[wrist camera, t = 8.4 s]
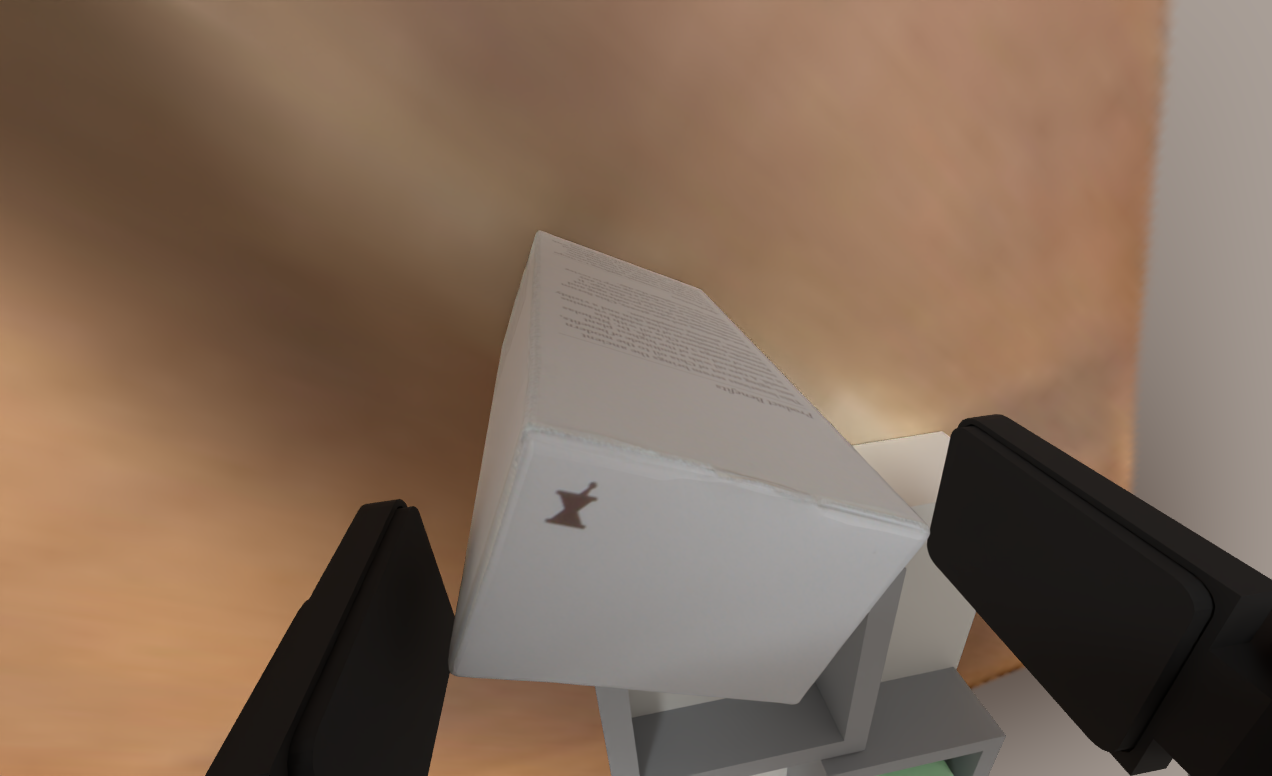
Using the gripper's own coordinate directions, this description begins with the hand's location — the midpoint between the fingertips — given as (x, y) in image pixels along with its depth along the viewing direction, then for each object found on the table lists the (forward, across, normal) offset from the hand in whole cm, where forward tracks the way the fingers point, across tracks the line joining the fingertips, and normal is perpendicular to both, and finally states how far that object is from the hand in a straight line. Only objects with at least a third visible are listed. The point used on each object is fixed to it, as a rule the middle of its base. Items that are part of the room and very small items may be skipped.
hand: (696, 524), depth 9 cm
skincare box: (+10, +1, -1) cm, 10 cm away
